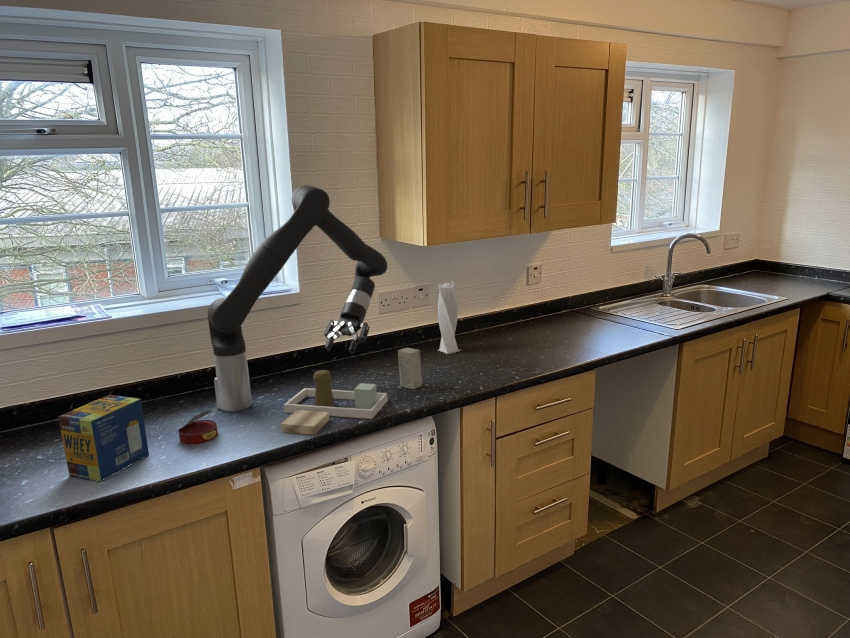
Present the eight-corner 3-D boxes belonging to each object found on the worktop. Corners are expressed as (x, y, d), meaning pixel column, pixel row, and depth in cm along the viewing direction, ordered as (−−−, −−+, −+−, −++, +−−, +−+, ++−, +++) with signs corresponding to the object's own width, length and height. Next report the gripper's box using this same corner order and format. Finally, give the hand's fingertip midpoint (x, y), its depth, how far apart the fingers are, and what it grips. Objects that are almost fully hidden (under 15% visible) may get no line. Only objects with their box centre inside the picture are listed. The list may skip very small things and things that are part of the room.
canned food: (191, 461, 165) (168, 435, 160) (188, 443, 174) (166, 418, 169) (228, 436, 167) (206, 410, 162) (224, 419, 176) (203, 394, 171)
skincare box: (422, 386, 201) (421, 350, 198) (413, 390, 198) (411, 353, 195) (408, 382, 206) (406, 346, 203) (399, 385, 203) (397, 349, 200)
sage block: (355, 411, 183) (354, 389, 181) (361, 405, 187) (360, 383, 186) (371, 412, 181) (370, 390, 180) (377, 406, 186) (376, 384, 184)
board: (281, 431, 170) (280, 423, 169) (297, 417, 179) (296, 409, 179) (314, 434, 167) (314, 426, 167) (329, 420, 177) (329, 412, 176)
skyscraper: (464, 352, 236) (463, 279, 229) (447, 356, 232) (445, 282, 225) (451, 347, 243) (449, 276, 236) (434, 351, 239) (432, 279, 232)
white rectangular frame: (284, 412, 184) (283, 404, 183) (305, 395, 197) (304, 388, 196) (372, 418, 177) (371, 410, 176) (387, 401, 190) (387, 393, 189)
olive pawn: (325, 400, 192) (322, 366, 189) (338, 404, 188) (336, 370, 185) (310, 406, 187) (307, 372, 185) (323, 411, 184) (320, 375, 181)
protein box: (68, 476, 149) (56, 416, 145) (119, 449, 163) (110, 393, 159) (100, 483, 145) (89, 421, 142) (150, 454, 159) (141, 397, 156)
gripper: (332, 299, 200) (314, 343, 193) (370, 302, 194) (353, 347, 187) (342, 312, 206) (325, 354, 199) (379, 314, 200) (363, 359, 193)
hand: (339, 351), depth 193 cm, fingers open, 8 cm apart
